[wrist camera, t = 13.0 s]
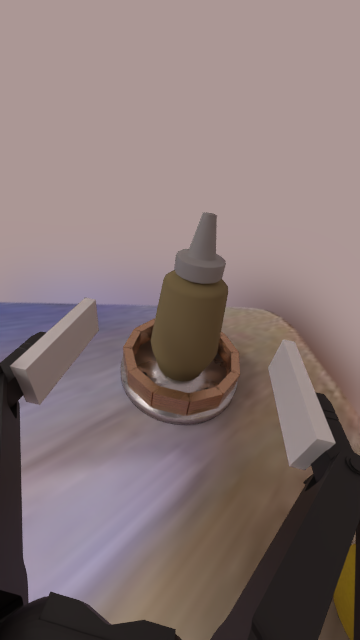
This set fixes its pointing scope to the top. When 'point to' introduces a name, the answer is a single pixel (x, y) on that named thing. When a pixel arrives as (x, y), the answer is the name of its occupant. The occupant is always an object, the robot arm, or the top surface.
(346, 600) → the lemon
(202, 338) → the squeeze bottle
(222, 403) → the flange seat
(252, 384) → the top surface
